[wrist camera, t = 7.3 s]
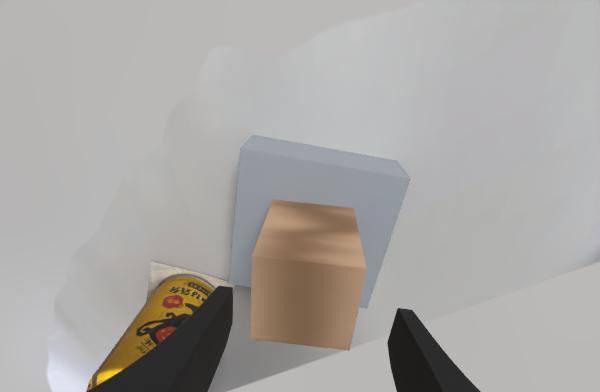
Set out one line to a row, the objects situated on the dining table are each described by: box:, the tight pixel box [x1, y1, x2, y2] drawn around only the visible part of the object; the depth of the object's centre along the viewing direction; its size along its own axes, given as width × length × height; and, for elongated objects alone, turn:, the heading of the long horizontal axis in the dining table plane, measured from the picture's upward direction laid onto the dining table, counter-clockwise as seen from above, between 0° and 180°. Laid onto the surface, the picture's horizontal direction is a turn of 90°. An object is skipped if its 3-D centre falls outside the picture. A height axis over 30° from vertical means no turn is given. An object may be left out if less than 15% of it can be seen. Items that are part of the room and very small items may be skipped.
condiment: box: [87, 261, 235, 391], centre depth 22 cm, size 7×8×12 cm
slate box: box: [229, 135, 410, 308], centre depth 21 cm, size 10×10×4 cm
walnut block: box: [250, 200, 367, 350], centre depth 17 cm, size 5×5×6 cm
